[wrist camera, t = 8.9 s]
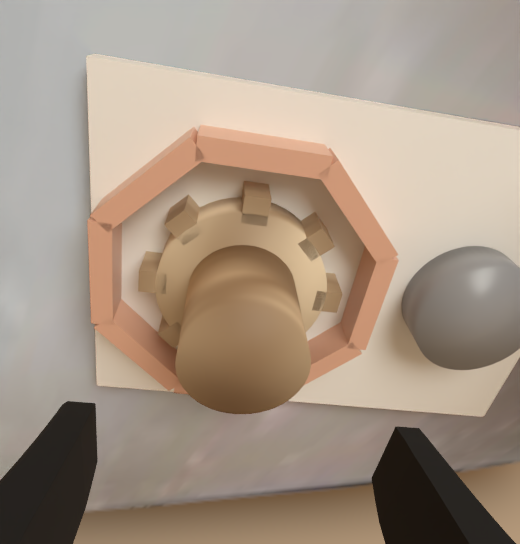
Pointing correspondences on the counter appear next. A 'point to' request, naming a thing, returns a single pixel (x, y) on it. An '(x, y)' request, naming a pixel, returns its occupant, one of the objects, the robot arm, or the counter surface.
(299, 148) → the carrier board
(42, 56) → the counter surface
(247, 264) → the gear
